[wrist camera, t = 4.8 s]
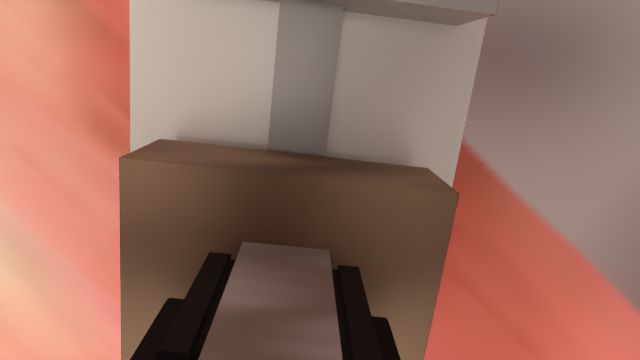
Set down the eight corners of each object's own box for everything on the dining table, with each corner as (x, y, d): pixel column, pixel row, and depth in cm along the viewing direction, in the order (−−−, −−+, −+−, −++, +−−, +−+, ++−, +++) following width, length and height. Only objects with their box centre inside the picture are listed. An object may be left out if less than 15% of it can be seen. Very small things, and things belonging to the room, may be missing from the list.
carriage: (427, 167, 14) (627, 332, 5) (394, 343, 16) (501, 682, 7) (160, 138, 13) (-114, 266, 5) (157, 323, 15) (-45, 664, 6)
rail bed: (475, -4, 15) (543, -33, 11) (363, 558, 23) (376, 675, 18) (147, -48, 14) (78, -99, 10) (143, 547, 22) (102, 665, 18)
